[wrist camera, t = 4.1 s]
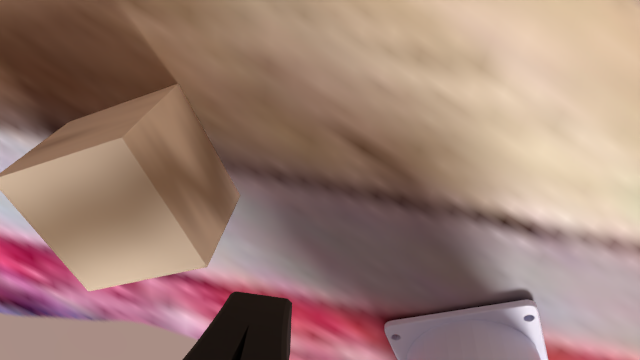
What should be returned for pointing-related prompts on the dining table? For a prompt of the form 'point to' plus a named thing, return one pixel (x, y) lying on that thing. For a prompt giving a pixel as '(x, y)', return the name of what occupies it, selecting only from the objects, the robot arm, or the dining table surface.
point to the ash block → (126, 191)
